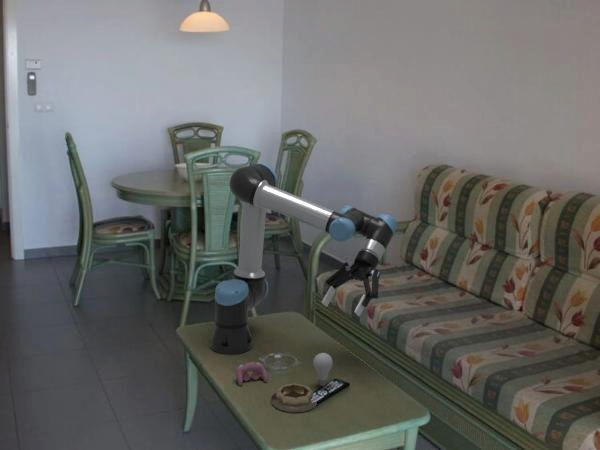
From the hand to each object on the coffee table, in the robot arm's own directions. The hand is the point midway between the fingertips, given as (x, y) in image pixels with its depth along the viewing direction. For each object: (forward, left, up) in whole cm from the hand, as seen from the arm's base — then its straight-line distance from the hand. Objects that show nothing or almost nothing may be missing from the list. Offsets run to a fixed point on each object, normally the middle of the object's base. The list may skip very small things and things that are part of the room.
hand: (340, 309), depth 223 cm
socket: (+12, -22, -23) cm, 34 cm away
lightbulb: (+6, -9, -23) cm, 25 cm away
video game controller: (-7, -28, -23) cm, 37 cm away
